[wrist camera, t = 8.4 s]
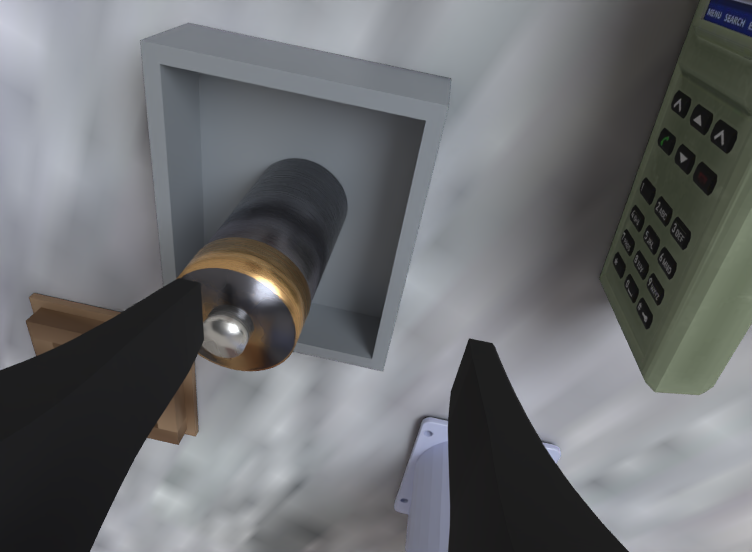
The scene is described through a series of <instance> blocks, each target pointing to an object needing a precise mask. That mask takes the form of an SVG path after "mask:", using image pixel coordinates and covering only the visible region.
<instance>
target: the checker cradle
mask: <svg viewBox="0 0 752 552" xmlns="http://www.w3.org/2000/svg"><path fill="white" fill-rule="evenodd" d="M29 299H30V302H31V306H32V309H33V313H34V314H33V315H32V316H31V317H30V318H29V319H27V320H26V324H27V327H28V330H29V333H30V337H31V340H32V343H33V347H34V350H35V353H36V356H38V355H40V354H42V353H45V352H47V351H49V350H51V349H54V348H56V347H58V346H60V345H62V344H64V343H66V342H68V341H70V340H72V339H74V338H76V337H78V336H80V335H82V334H84V333H86V332H87V331H89V330H91V329H93V328H95V327H97V326H99V325H100V324H102V323H104V322H106V321H108V320H110V319H111V318H113V317H115V316H117V315H118V314H120V313H121V312H117V311H112V310H108V309H103V308H99V307H94V306H90V305H85V304H81V303H76V302H72V301H67V300H63V299H58V298H54V297H50V296H45V295H41V294H36V293H34V294H32V295H31V296H30V297H29ZM197 433H198V415H197V397H196V379H195V361H194V363H193V365H192V367H191V369H190V371H189V373H188V375H187V376H186V378H185V379H184V381H183V383H182V384H181V386H180V387H179V389H178V390H177V392H176V394H175V395H174V397H173V398H172V400H171V401H170V403H169V404H168V406H167V408H166V409H165V411H164V412H163V414H162V415H161V417H160V418H159V420H158V421H157V423H156V425H155V426H154V428H153V429H152V431H151V432H150V434H149V435H148V437H147V438H151V439H155V440H160V441H164V442H168V443H173V444H177V445H179V443H180V441H181V439H182V438H183V436H184V434H187V435H192V436H196V435H197Z"/></svg>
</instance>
